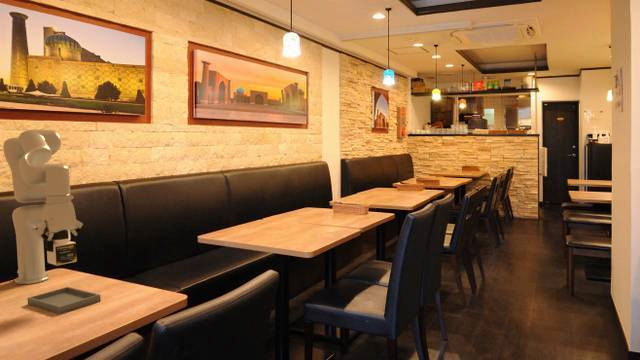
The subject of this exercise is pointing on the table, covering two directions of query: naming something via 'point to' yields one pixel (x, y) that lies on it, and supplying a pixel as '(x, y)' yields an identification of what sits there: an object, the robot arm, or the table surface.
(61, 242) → the medicine bottle
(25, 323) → the table surface
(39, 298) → the gray tray
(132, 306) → the table surface
